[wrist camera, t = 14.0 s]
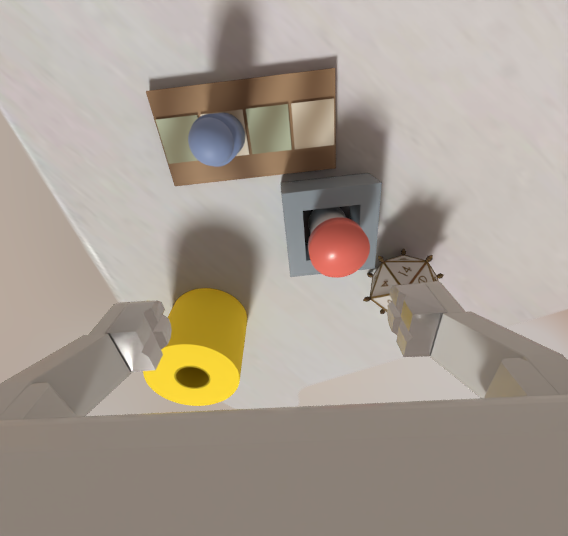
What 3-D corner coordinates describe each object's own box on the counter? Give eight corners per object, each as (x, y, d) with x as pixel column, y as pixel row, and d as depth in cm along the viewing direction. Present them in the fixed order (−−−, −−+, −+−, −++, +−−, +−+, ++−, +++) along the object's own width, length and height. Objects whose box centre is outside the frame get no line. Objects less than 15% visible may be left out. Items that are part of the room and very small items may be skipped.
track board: (333, 68, 23) (335, 67, 23) (334, 166, 27) (336, 168, 27) (149, 91, 24) (144, 91, 23) (177, 184, 28) (174, 186, 27)
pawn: (243, 111, 24) (229, 113, 18) (247, 155, 26) (236, 172, 19) (201, 113, 24) (173, 115, 18) (208, 157, 26) (185, 173, 19)
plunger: (351, 195, 28) (371, 220, 22) (350, 241, 31) (368, 274, 25) (301, 201, 28) (307, 227, 22) (304, 245, 31) (311, 280, 25)
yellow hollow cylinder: (166, 334, 39) (137, 395, 31) (180, 278, 34) (150, 333, 26) (235, 351, 41) (225, 412, 33) (257, 301, 36) (251, 358, 28)
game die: (369, 250, 37) (359, 247, 28) (440, 248, 33) (456, 245, 24) (369, 315, 37) (359, 334, 28) (440, 320, 34) (455, 343, 25)
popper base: (368, 172, 28) (381, 182, 24) (364, 250, 33) (374, 268, 29) (280, 182, 28) (281, 193, 25) (288, 258, 33) (290, 276, 29)
